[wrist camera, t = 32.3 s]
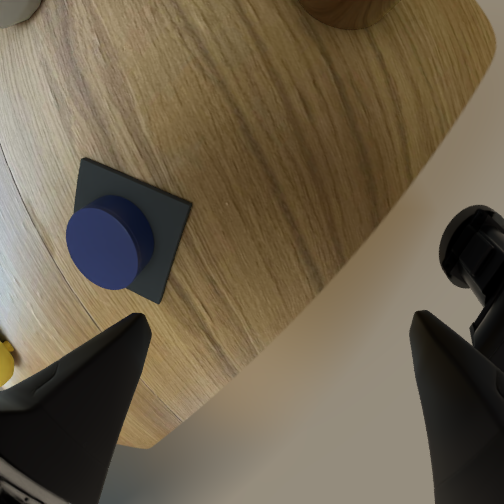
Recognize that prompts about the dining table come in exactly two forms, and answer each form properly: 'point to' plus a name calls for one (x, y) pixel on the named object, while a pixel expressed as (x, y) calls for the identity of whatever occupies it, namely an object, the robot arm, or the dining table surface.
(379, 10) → the jam jar
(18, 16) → the salt shaker
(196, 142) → the dining table surface
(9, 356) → the teapot
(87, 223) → the jar lid
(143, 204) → the mat
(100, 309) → the dining table surface
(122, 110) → the dining table surface
